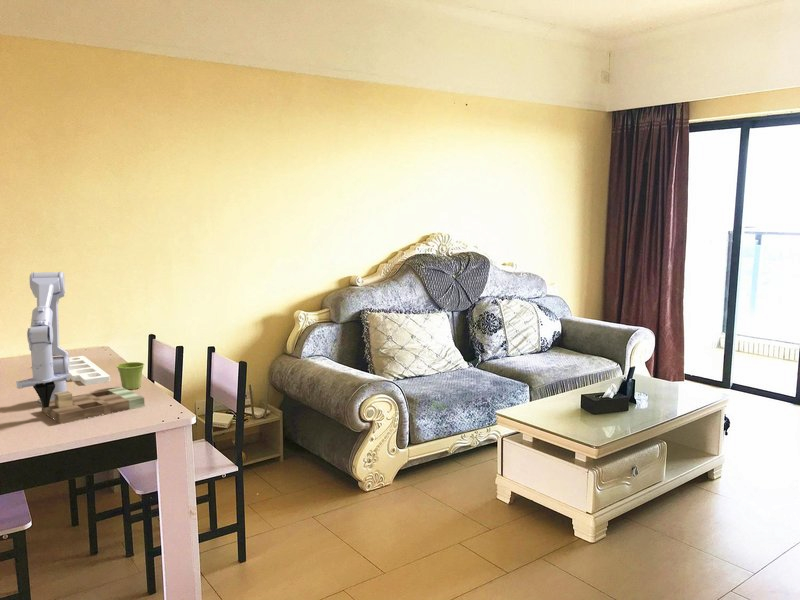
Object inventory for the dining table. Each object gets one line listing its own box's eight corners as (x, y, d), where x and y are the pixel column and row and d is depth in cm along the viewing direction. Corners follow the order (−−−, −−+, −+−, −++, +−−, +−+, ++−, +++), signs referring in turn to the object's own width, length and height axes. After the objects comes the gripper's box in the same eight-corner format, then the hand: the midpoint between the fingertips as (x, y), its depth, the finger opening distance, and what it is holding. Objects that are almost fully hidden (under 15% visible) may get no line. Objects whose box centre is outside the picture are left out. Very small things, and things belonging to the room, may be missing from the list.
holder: (110, 383, 248) (110, 376, 248) (58, 390, 237) (57, 383, 237) (84, 361, 284) (83, 355, 283) (37, 367, 273) (36, 361, 273)
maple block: (54, 405, 207) (54, 393, 207) (68, 402, 210) (67, 390, 209) (59, 408, 204) (58, 395, 204) (72, 405, 207) (71, 393, 207)
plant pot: (137, 383, 246) (135, 360, 245) (150, 387, 240) (149, 364, 239) (113, 388, 239) (111, 365, 238) (126, 392, 233) (124, 369, 232)
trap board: (41, 411, 211) (41, 402, 211) (122, 395, 229) (122, 387, 229) (60, 423, 198) (59, 414, 198) (144, 406, 216) (144, 397, 216)
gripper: (20, 370, 194) (23, 414, 195) (71, 362, 204) (74, 404, 206) (13, 366, 199) (16, 409, 200) (64, 358, 209) (67, 400, 211)
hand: (45, 406), depth 203 cm, fingers closed
